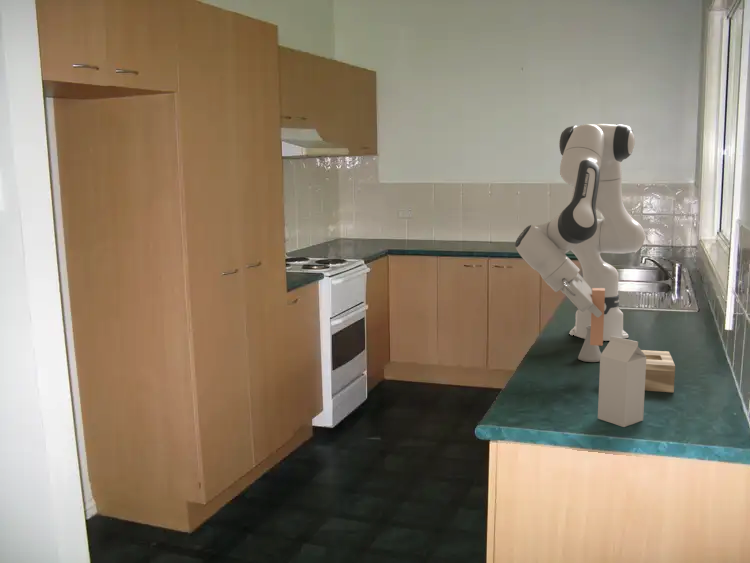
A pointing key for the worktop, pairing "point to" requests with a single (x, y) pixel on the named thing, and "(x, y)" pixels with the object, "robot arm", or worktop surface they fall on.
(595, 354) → the flask
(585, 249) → the robot arm
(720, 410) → the worktop surface
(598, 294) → the long pin
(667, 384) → the tan block with hole
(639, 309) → the worktop surface
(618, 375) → the milk carton
